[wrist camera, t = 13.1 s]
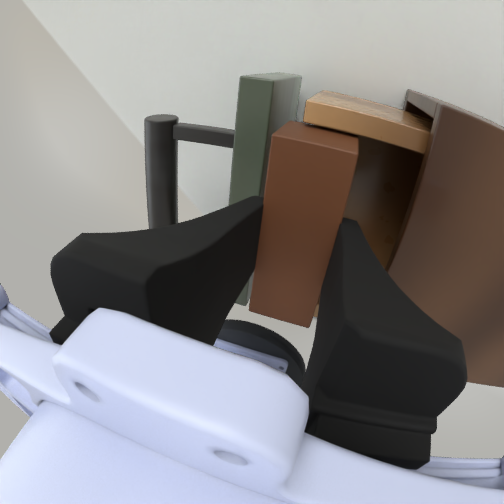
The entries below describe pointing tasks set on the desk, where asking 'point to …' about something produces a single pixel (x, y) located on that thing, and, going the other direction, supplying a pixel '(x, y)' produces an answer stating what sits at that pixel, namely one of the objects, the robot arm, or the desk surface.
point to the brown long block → (301, 218)
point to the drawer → (258, 148)
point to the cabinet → (457, 234)
